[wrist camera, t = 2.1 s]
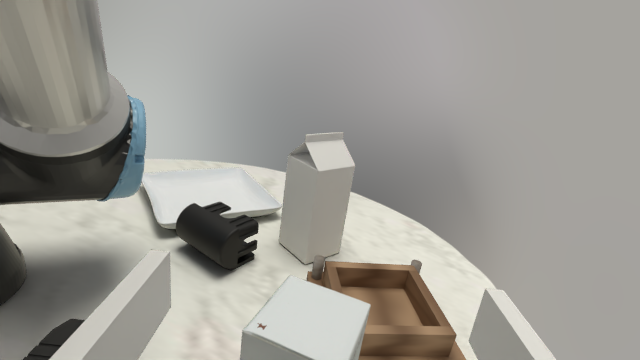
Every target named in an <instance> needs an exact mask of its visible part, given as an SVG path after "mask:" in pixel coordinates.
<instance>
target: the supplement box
mask: <svg viewBox="0 0 640 360" xmlns="http://www.w3.org/2000/svg"><path fill="white" fill-rule="evenodd" d="M370 307H371V305H370V304H368V303H366V302H363V301H361V300H358V299H355V298H353V297H350V296H347V295H344V294H342V293H339V292H336V291H333V290H331V289H328V288H325V287H322V286H319V285H317V284H314V283H311V282H308V281H305V280H303V279H300V278H298V277H295V276H293V275H290V276H288V278H287V279H286V280H285V281H284V282H283V284H282V285H281V286H280V287H279V288H278V289H277V291H276V292H275V293H274V294H273V295H272V297H271V298H270V299H269V300H268V301H267V302H266V303H265V305H264V306H263V307H262V308H261V310H260V311H259V312H258V313H257V314H256V315H255V317H254V318H253V319H252V320H251V321H250V323H249V324H248V325H247V326H246V327H245V328H244V329H243V332H242V343H241V355H240V360H358V359H359V354H360V350H361V345H362V341H363V336H364V332H365V328H366V324H367V320H368V315H369V311H370Z"/></svg>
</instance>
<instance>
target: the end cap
mask: <svg viewBox="0 0 640 360" xmlns="http://www.w3.org/2000/svg"><path fill="white" fill-rule="evenodd" d="M229 210H231V207H229V206H228V205H226V204H224V203H222V202H216V203H213V204H210V205H207V206H204V207H201V206H199V205H198V204H196V203H193V204H190V205H189V206H187V207H186V208H185V209H184V210H183V211H182V212H181V213H180V215H179V217H178V219H177V222H176V232H177V235H178V236H179V237H180V238H181V239H182V240H184V241H185V242H187V243H188V244H190V245H191V246H193V247H194V248H196V249H197V250H199V251H200V252H202V253H203V254H205V255H206V256H207V257H209V258H210V259H212V260H213V261H215V262H216V263H218V264H219V265H221V266H222V267H224V268H226V269H229V270H233V269H236V268H238V267H240V266H242V265H243V264H245V263H247V262H249V261H251V260H253V259H254V254H253V253H252V251H254V250H256V248H257V240H254V241H251V242H249V243H246V242H244V240H245V239H246V238H248V237H250V236H253V235H255V234H257V233H258V222H257V221H256V220H254V219H252V218H250V217H248V216H247V215H241V216H238V217H236V218H224V217H222V216H220V214H221V213H224V212H227V211H229Z"/></svg>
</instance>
